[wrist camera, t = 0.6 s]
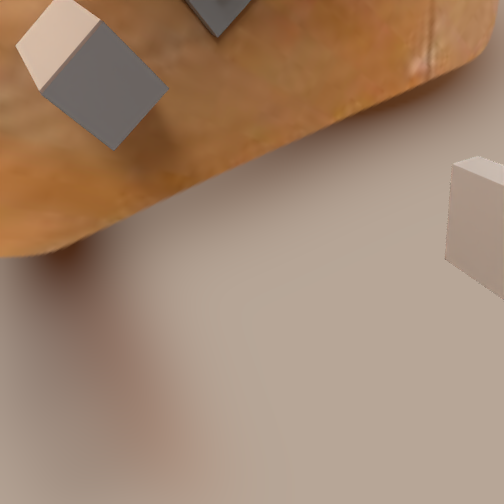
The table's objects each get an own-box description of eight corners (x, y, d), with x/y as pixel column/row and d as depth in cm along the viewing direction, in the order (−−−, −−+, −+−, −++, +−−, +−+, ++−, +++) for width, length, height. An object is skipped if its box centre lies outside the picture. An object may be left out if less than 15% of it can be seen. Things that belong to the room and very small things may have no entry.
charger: (15, 45, 30) (41, 94, 22) (60, -9, 29) (103, 21, 22) (73, 93, 33) (113, 151, 25) (115, 45, 33) (169, 88, 25)
